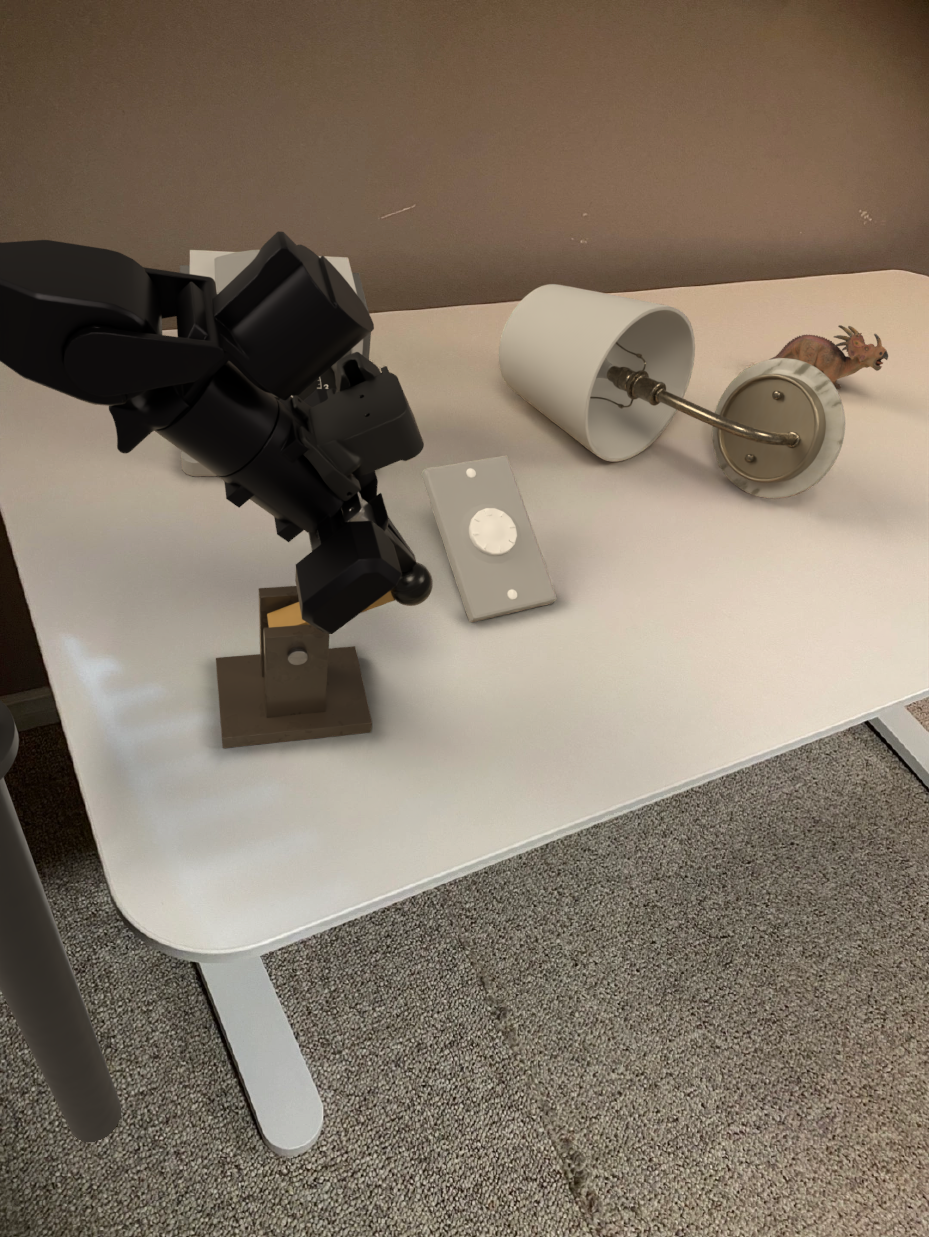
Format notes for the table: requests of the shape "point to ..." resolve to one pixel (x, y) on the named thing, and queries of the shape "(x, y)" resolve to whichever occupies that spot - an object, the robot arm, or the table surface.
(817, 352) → the dinosaur figurine
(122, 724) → the table surface
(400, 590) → the lever
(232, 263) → the alarm clock
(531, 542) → the light switch
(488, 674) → the table surface
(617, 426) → the light fixture
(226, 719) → the switch bracket
